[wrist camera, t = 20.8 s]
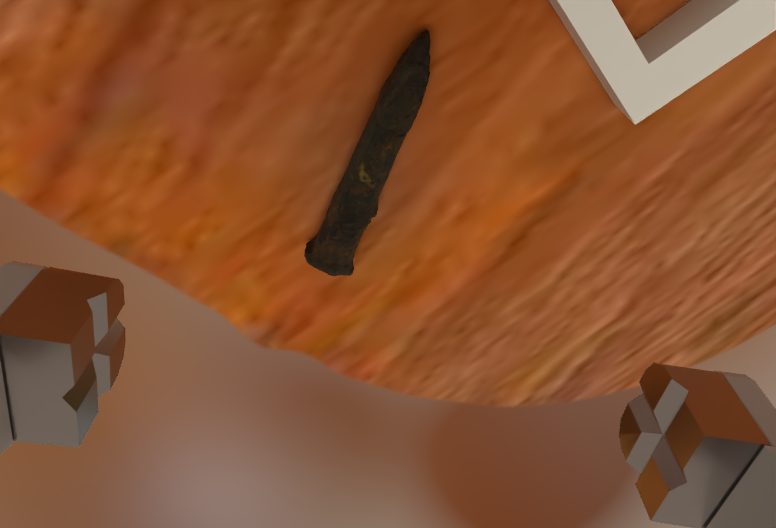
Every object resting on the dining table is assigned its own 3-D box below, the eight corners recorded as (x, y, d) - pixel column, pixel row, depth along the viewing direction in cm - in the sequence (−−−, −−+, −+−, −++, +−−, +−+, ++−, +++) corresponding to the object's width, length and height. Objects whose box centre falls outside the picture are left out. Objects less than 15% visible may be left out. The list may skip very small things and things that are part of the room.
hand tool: (351, 259, 52) (348, 290, 48) (305, 241, 52) (299, 271, 48) (462, 46, 44) (470, 62, 40) (410, 19, 43) (412, 34, 39)
